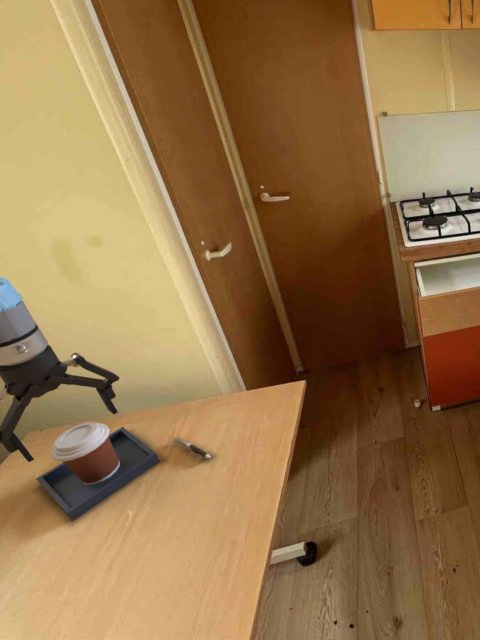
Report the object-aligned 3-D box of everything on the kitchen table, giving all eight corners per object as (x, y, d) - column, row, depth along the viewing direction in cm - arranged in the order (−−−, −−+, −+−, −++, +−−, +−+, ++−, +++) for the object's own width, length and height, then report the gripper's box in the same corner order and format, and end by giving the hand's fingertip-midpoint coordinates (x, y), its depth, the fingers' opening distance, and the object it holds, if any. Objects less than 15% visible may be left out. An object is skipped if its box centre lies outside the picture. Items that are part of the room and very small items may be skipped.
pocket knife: (212, 458, 98) (210, 452, 97) (209, 461, 97) (206, 455, 97) (175, 438, 103) (172, 433, 102) (171, 441, 102) (168, 436, 101)
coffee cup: (89, 497, 89) (61, 459, 84) (64, 482, 92) (36, 444, 87) (137, 461, 97) (114, 425, 91) (112, 448, 100) (89, 412, 94)
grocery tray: (42, 486, 92) (35, 478, 91) (127, 433, 104) (122, 426, 103) (73, 521, 85) (67, 513, 84) (160, 461, 97) (155, 453, 96)
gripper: (-78, 407, 67) (-6, 490, 77) (112, 325, 87) (150, 400, 97) (-91, 389, 71) (-20, 472, 80) (95, 315, 90) (134, 388, 100)
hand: (73, 433), depth 88 cm, fingers open, 13 cm apart
